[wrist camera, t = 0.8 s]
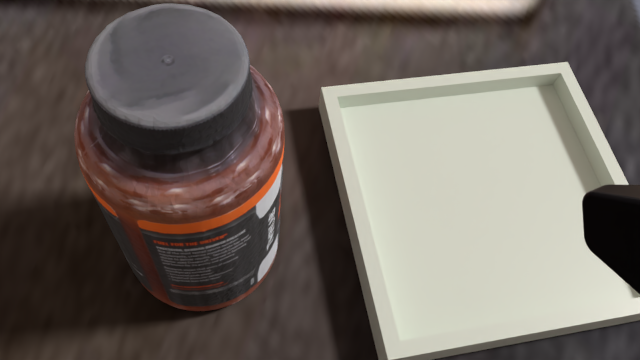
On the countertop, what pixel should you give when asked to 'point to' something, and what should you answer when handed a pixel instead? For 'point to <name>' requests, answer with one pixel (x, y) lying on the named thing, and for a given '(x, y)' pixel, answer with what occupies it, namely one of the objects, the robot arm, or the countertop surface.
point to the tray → (473, 208)
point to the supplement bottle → (183, 154)
